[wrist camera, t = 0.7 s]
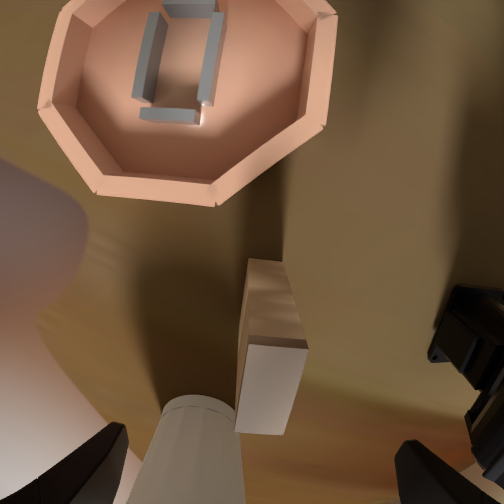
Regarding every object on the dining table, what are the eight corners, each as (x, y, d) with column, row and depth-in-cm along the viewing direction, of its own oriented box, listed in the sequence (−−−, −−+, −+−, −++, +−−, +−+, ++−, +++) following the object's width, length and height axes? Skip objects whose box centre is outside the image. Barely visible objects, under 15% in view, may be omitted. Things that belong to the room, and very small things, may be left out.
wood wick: (282, 262, 19) (308, 349, 10) (270, 327, 20) (283, 435, 11) (248, 257, 19) (248, 343, 10) (239, 324, 20) (234, 431, 11)
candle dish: (329, -19, 13) (341, -44, 10) (300, 209, 18) (310, 220, 15) (100, -25, 13) (81, -46, 10) (59, 183, 17) (30, 190, 14)
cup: (133, 406, 22) (88, 527, 11) (209, 371, 21) (187, 524, 10) (194, 458, 24) (178, 569, 13) (269, 431, 23) (277, 560, 12)
